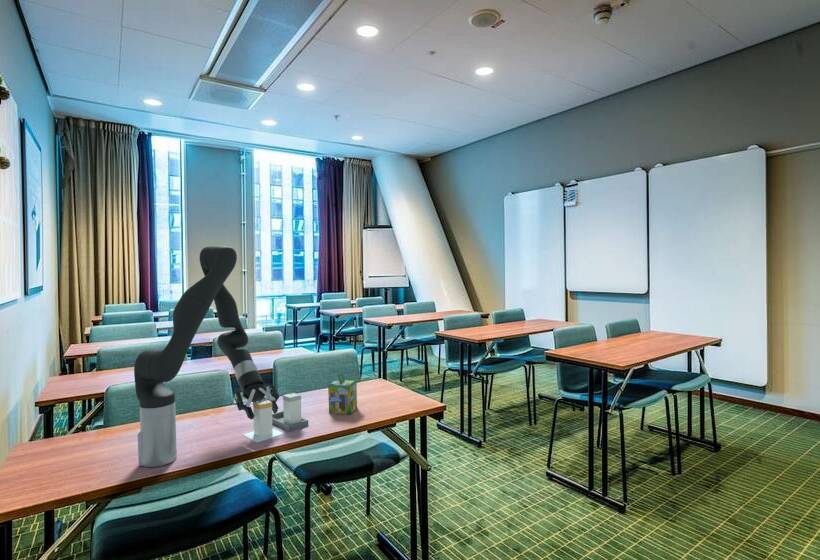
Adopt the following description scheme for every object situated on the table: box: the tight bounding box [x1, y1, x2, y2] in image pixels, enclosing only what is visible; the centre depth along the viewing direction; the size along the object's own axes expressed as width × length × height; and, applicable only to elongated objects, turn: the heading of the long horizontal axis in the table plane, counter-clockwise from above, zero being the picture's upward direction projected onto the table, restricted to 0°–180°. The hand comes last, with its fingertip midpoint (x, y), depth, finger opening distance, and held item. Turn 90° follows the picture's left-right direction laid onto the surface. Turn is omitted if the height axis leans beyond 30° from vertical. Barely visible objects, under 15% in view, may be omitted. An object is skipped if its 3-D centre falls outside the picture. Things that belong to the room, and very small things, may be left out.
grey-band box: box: [282, 392, 302, 425], centre depth 159 cm, size 5×5×11 cm
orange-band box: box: [252, 399, 273, 438], centre depth 151 cm, size 5×5×11 cm
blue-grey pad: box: [242, 427, 285, 444], centre depth 151 cm, size 10×10×1 cm
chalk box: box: [327, 372, 358, 415], centre depth 176 cm, size 9×9×15 cm
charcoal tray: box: [272, 410, 309, 432], centre depth 162 cm, size 16×8×2 cm, turn 46°
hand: (264, 415), depth 150 cm, fingers open, 8 cm apart
